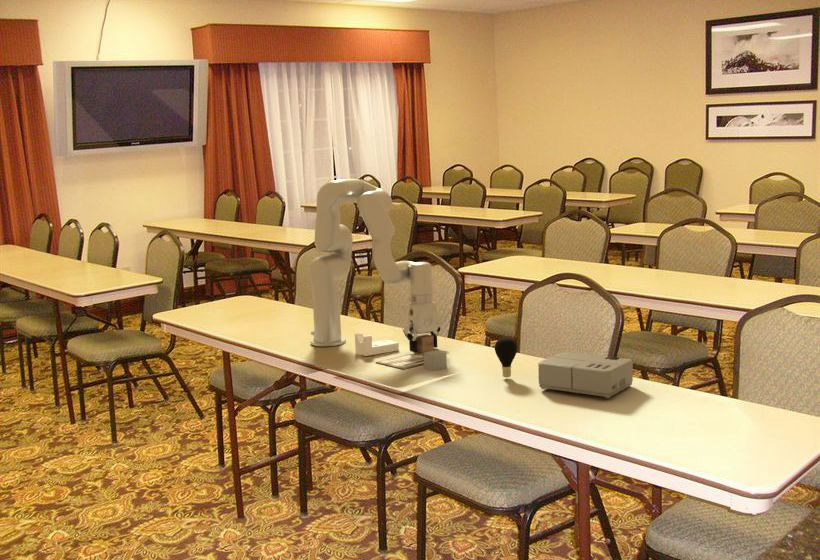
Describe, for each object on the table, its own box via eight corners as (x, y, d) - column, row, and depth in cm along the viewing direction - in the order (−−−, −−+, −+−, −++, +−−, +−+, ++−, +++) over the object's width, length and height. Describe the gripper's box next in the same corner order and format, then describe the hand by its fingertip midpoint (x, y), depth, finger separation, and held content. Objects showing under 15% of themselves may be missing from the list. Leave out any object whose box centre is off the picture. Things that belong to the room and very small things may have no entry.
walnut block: (413, 353, 295) (412, 336, 294) (424, 350, 298) (423, 333, 297) (422, 355, 291) (422, 337, 290) (434, 352, 294) (433, 335, 293)
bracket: (366, 358, 290) (365, 336, 289) (355, 355, 296) (354, 333, 295) (398, 352, 297) (398, 331, 296) (388, 349, 303) (387, 328, 302)
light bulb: (522, 377, 257) (522, 337, 255) (506, 381, 252) (505, 340, 251) (506, 373, 262) (505, 334, 260) (490, 377, 258) (489, 337, 256)
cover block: (423, 352, 272) (434, 355, 268) (435, 350, 275) (446, 352, 271) (424, 368, 273) (434, 370, 269) (435, 365, 276) (446, 368, 272)
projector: (609, 399, 231) (609, 371, 230) (536, 389, 244) (536, 362, 243) (634, 385, 244) (634, 358, 243) (564, 376, 257) (563, 350, 256)
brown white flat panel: (375, 362, 282) (375, 361, 282) (412, 354, 292) (412, 353, 292) (403, 369, 272) (403, 368, 272) (440, 360, 282) (440, 359, 282)
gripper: (409, 303, 283) (411, 355, 286) (448, 296, 294) (449, 346, 297) (394, 301, 289) (396, 352, 291) (433, 294, 300) (435, 343, 302)
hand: (423, 349), depth 294 cm, fingers open, 8 cm apart
